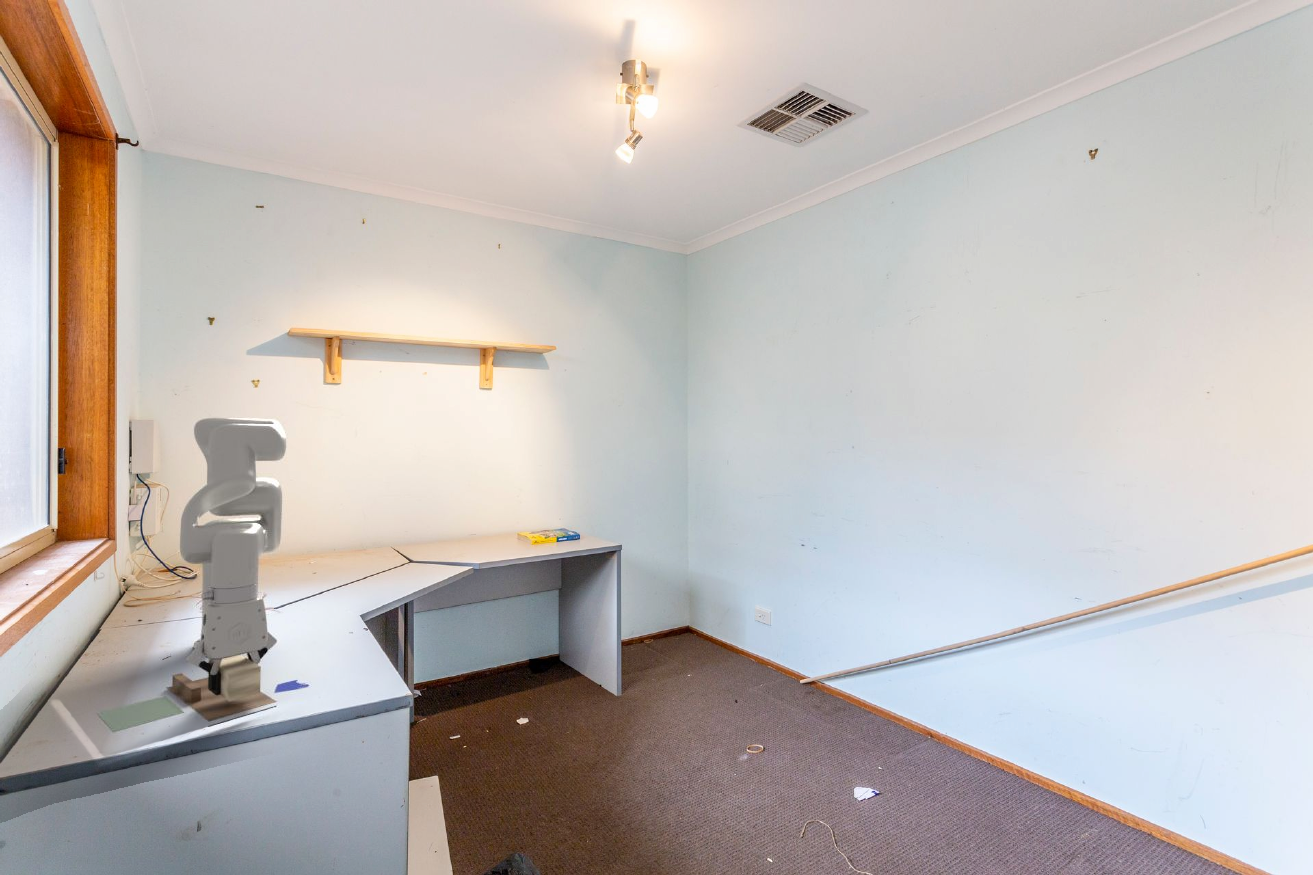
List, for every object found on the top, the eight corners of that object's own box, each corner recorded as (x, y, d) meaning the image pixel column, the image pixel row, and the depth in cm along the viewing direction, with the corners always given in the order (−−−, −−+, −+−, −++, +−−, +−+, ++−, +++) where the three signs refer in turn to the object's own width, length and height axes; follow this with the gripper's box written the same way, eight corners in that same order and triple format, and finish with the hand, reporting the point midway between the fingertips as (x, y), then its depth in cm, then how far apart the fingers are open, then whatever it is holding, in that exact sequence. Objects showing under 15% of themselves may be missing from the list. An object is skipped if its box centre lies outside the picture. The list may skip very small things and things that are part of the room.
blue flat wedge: (318, 686, 126) (319, 667, 137) (271, 693, 122) (277, 673, 133) (318, 693, 126) (319, 674, 137) (271, 700, 122) (276, 680, 133)
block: (210, 687, 119) (211, 661, 119) (240, 679, 122) (240, 654, 122) (229, 701, 112) (230, 674, 112) (260, 692, 116) (260, 666, 116)
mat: (96, 718, 113) (97, 713, 113) (164, 700, 121) (164, 695, 121) (113, 737, 106) (113, 731, 106) (184, 717, 114) (184, 712, 114)
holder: (166, 692, 125) (166, 675, 125) (229, 676, 134) (229, 660, 134) (208, 726, 110) (209, 707, 110) (276, 706, 119) (276, 688, 119)
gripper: (187, 606, 109) (185, 708, 109) (291, 588, 123) (289, 680, 123) (174, 599, 114) (172, 697, 114) (275, 582, 127) (274, 670, 127)
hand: (233, 687), depth 118 cm, fingers closed on block, 5 cm apart
